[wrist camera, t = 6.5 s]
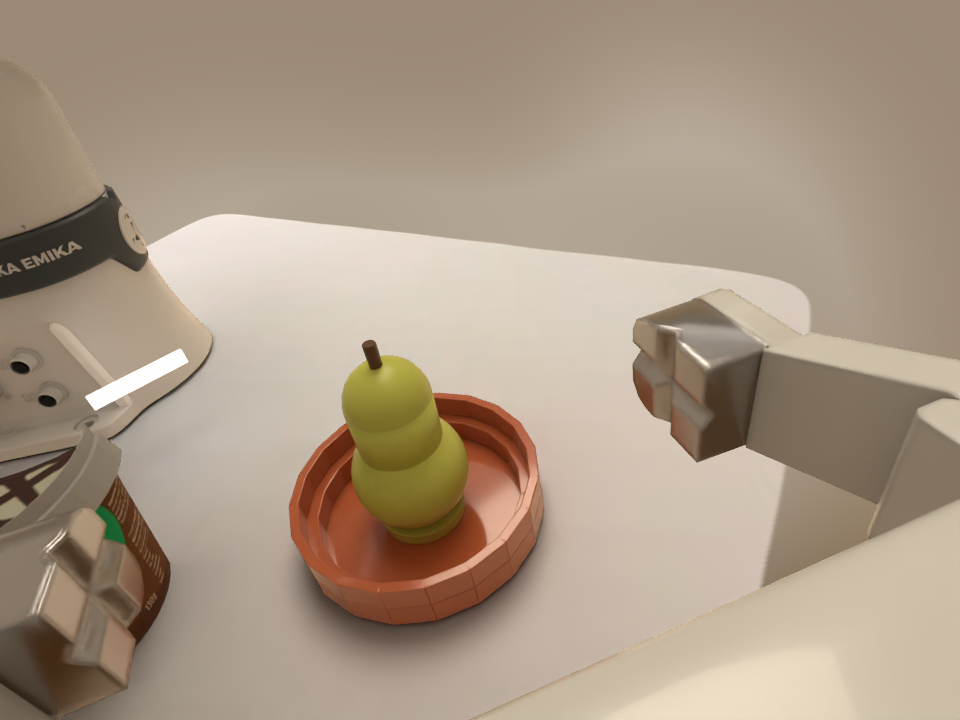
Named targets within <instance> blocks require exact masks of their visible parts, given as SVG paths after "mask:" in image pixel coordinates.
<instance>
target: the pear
mask: <svg viewBox="0 0 960 720" xmlns="http://www.w3.org/2000/svg"><path fill="white" fill-rule="evenodd" d="M362 348H363V351H364V353H365V356H366V359H367V361H365V362H363V363H362V364H360V365H359V366H358V367H357V368H356V369H354V370H353V372H352V373H351V374H350V376H349V377H348V379H347V381H346V383H345V385H344V389H343V393H342V410H343V414H344V417H345V420H346V422H347V425H348V427H349V430H350V432H351V435H352V437H353V439H354V442H355V444H356V448H355V451H354V455H353V459H352V466H351V476H352V484H353V487H354V490H355V493H356V495H357V497H358V499H359V501H360V503H361V504H362V505H363V507H364V508H365V509H366V510H367V511H368V513H370V514H371V515H372V516H373V517H374V518H376V519H377V520H379V521H380V522H382V523H384V525H385V527H386V529H387V531H388V532H389V533H390V535H392V536H393V537H394V538H395V539H397V540H399V541H401V542H404V543H408V544H425V543H429V542H433V541H435V540H438V539H440V538H442V537H443V536H445V535H446V534H448V533H449V532H450V531H452V530H453V529H454V528H455V526H456V525H457V524H458V523H459V521H460V520H461V518H462V516H463V513H464V509H465V497H464V490H465V488H466V484H467V480H468V473H469V463H468V456H467V452H466V449H465V446H464V443H463V442H462V440H461V438H460V436H459V435H458V433H457V432H456V431H455V430H454V429H453V427H452V426H451V425H449V424H448V423H447V422H446V421H444V420H443V419H441V418H440V417H439V415H438V411H437V407H436V404H435V400H434V396H433V393H432V389H431V386H430V383H429V381H428V379H427V377H426V376H425V374H424V373H423V372H422V370H421V369H420V368H418V367H417V366H416V365H415V364H413V363H412V362H410V361H408V360H406V359H404V358H401V357H398V356H388V355H386V356H380V354H379V351H378V348H377V345H376V342H375V341H374V340H367V341H365V342H364V343H363V344H362Z"/></svg>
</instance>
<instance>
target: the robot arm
mask: <svg viewBox="0 0 960 720" xmlns="http://www.w3.org/2000/svg"><path fill="white" fill-rule="evenodd" d="M633 342H634V343H635V344H636V345H637V346H638V347H639V348H640V349H641V351H640V353H639V354H638V356H637V358H636V359H635V361H634V363H633V381H634V384H635V387H636V390H637V393H638V396H639V398H640V399H641V401H642V403H643V404H644V406H645V407H646V409H647V410H648V411H649V412H650V413H651V414H652V415H653V416H654V417H656V418H659V419H662V420H665V421H668V422H671V434H670V435H671V436H672V437H673V438H674V439H675V440H676V441H677V442H678V443H679V444H680V445H681V446H682V447H683V448H684V449H685V451H686V452H687V453H688V454H689V455H690V456H691V457H692V458H693V459H694V460H695V461H696V462H699V461H702V460H705V459H708V458H710V457H713V456H716V455H719V454H721V453H724V452H727V451H729V450H732V449H735V448H738V447H740V446H743V445H746V448H749V449H751V450H753V451H755V452H758V453H760V454H762V455H765V456H767V457H769V458H772V459H774V460H776V461H779V462H781V463H783V464H785V465H788V466H790V467H792V468H795V469H797V470H799V471H802V472H804V473H806V474H809V475H811V476H813V477H816V478H818V479H820V480H822V481H825V482H827V483H829V484H832V485H834V486H836V487H838V488H841V489H843V490H845V491H848V492H850V493H852V494H855V495H857V496H859V497H862V498H864V499H866V500H869V501H871V502H873V503H875V504H878V505H877V508H876V510H875V513H874V515H873V518H872V520H871V523H870V525H869V528H868V539H869V540H867V541H865V542H863V543H861V544H859V545H856V546H854V547H852V548H850V549H847V550H845V551H843V552H841V553H839V554H836V555H834V556H832V557H830V558H827V559H825V560H823V561H821V562H819V563H816V564H814V565H812V566H810V567H808V568H805V569H803V570H801V571H799V572H797V573H794V574H792V575H790V576H788V577H785V578H783V579H781V580H779V581H777V582H774V583H772V584H770V585H768V586H765V587H763V588H761V589H759V590H756V591H754V592H752V593H750V594H748V595H745V596H743V597H741V598H739V599H736V600H734V601H732V602H730V603H728V604H725V605H723V606H721V607H719V608H716V609H714V610H712V611H710V612H708V613H705V614H703V615H701V616H699V617H696V618H694V619H692V620H690V621H688V622H685V623H683V624H681V625H679V626H676V627H674V628H672V629H670V630H668V631H665V632H663V633H661V634H659V635H656V636H654V637H652V638H650V639H648V640H645V641H643V642H641V643H639V644H636V645H634V646H632V647H630V648H628V649H625V650H623V651H621V652H619V653H616V654H614V655H612V656H610V657H608V658H605V659H603V660H601V661H599V662H596V663H594V664H592V665H590V666H588V667H585V668H583V669H581V670H579V671H576V672H574V673H572V674H570V675H568V676H565V677H563V678H561V679H559V680H556V681H554V682H552V683H550V684H548V685H545V686H543V687H541V688H539V689H536V690H534V691H532V692H530V693H528V694H525V695H523V696H521V697H519V698H517V699H514V700H512V701H510V702H508V703H505V704H503V705H501V706H499V707H497V708H494V709H492V710H490V711H488V712H485V713H483V714H481V715H479V716H477V717H474V718H472V719H470V720H960V360H955V359H949V358H944V357H939V356H934V355H929V354H923V353H918V352H913V351H907V350H902V349H896V348H891V347H886V346H881V345H875V344H870V343H865V342H860V341H854V340H849V339H844V338H838V337H833V336H828V335H822V334H817V333H812V332H811V333H808V334H805V335H801V334H799V333H798V332H796V331H795V330H793V329H792V328H790V327H788V326H787V325H785V324H784V323H782V322H780V321H779V320H777V319H776V318H774V317H772V316H771V315H769V314H768V313H766V312H765V311H763V310H761V309H760V308H758V307H757V306H755V305H753V304H752V303H750V302H749V301H747V300H746V299H744V298H742V297H741V296H739V295H738V294H736V293H734V292H733V291H731V290H727V289H718V290H716V291H713V292H710V293H707V294H705V295H702V296H699V297H697V298H694V299H693V300H691V301H688V302H685V303H682V304H679V305H677V306H674V307H671V308H668V309H665V310H662V311H659V312H656V313H653V314H650V315H648V316H645V317H642V318H639V319H636V322H635V325H634V327H633ZM211 345H212V335H211V332H210V331H209V329H208V328H207V327H205V326H204V325H203V324H202V323H201V322H200V321H199V320H198V319H197V318H196V317H195V316H194V315H193V314H192V313H191V312H190V311H189V310H188V309H187V308H186V306H185V305H184V304H183V303H182V302H181V301H180V299H179V298H178V297H177V296H176V295H175V293H174V292H173V291H172V290H171V288H170V287H169V286H168V284H167V283H166V282H165V280H164V279H163V278H162V276H161V275H160V274H159V272H158V271H157V269H156V268H155V267H154V265H153V264H152V262H151V261H150V259H149V258H148V251H147V249H146V245H145V242H144V240H143V238H142V236H141V234H140V232H139V230H138V228H137V226H136V225H135V223H134V221H133V219H132V218H131V216H130V214H129V212H128V211H127V209H126V208H125V207H124V206H123V205H122V203H121V202H120V200H119V198H118V197H117V195H116V194H115V192H114V190H113V189H112V188H111V187H109V186H107V185H104V184H103V183H102V181H101V179H100V178H99V176H98V174H97V172H96V171H95V169H94V167H93V165H92V164H91V162H90V160H89V158H88V156H87V155H86V153H85V151H84V149H83V148H82V146H81V144H80V142H79V140H78V139H77V137H76V135H75V134H74V132H73V130H72V128H71V126H70V125H69V123H68V121H67V119H66V118H65V116H64V114H63V113H62V111H61V109H60V107H59V105H58V104H57V102H56V100H55V98H54V96H53V95H52V93H51V92H50V90H49V89H48V88H47V87H46V86H45V85H44V84H43V83H42V82H41V81H40V80H39V79H38V78H37V77H36V76H35V75H33V74H32V73H31V72H29V71H28V70H26V69H25V68H23V67H21V66H20V65H18V64H16V63H14V62H12V61H10V60H8V59H5V58H3V57H0V462H2V461H6V460H11V459H16V458H21V457H26V456H30V455H35V454H40V453H45V452H49V451H54V450H59V449H64V448H68V447H73V446H77V445H78V442H79V440H80V437H81V433H82V428H83V425H86V426H87V428H88V429H89V430H90V431H91V432H92V433H93V434H96V433H98V432H99V433H101V434H102V435H103V436H104V437H106V438H107V439H108V438H110V437H112V436H114V435H116V434H117V433H118V432H120V431H121V430H122V429H124V428H125V427H126V426H127V425H128V424H129V423H130V422H131V421H132V420H133V419H134V418H135V417H136V416H137V415H138V414H139V413H140V412H141V411H142V410H143V409H145V408H146V407H147V406H148V405H150V404H151V403H153V402H154V401H156V400H157V399H159V398H160V397H162V396H164V395H165V394H167V393H168V392H170V391H171V390H172V389H174V388H175V387H177V386H178V385H179V384H181V383H182V382H183V381H184V380H185V379H187V378H188V377H189V376H190V375H191V374H192V373H193V372H194V371H195V370H196V369H197V368H198V367H199V366H200V364H201V363H202V362H203V361H204V359H205V358H206V356H207V355H208V353H209V351H210V348H211ZM106 525H107V524H106V523H105V522H104V521H103V520H102V519H101V518H100V517H99V516H98V515H97V514H96V513H95V512H94V511H93V510H92V509H87V508H78V509H75V510H72V511H68V512H65V513H62V514H59V515H56V516H53V517H50V518H46V519H43V520H40V521H37V522H34V523H31V524H28V525H24V526H21V527H18V528H15V529H12V530H9V531H6V532H2V533H0V720H54V719H56V718H59V717H61V716H64V715H66V714H68V713H71V712H73V711H75V710H78V709H80V708H82V707H85V706H87V705H89V704H92V703H94V702H96V701H99V700H101V699H103V698H106V697H108V696H111V695H113V694H115V693H118V692H120V691H122V690H125V689H127V686H128V681H129V676H130V670H131V665H132V659H133V654H134V648H135V643H136V639H135V638H134V637H133V636H132V634H131V633H130V632H129V631H128V630H127V628H128V626H129V625H130V624H131V622H132V621H133V620H134V618H135V617H136V616H137V614H138V613H139V612H140V610H141V609H142V602H143V595H144V585H143V578H142V571H141V568H140V566H139V564H138V562H137V560H136V558H135V556H134V554H133V553H132V552H131V551H130V550H129V548H128V547H127V546H126V545H125V544H123V543H119V542H116V541H112V540H109V539H105V538H104V535H105V530H106Z"/></svg>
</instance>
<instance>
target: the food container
mask: <svg viewBox="0 0 960 720" xmlns="http://www.w3.org/2000/svg"><path fill="white" fill-rule="evenodd" d="M120 462H121V450H120V449H119V448H118V447H117V446H115V445H114V444H113V443H112V442H111V441H109V440H108V439H107V438H106V437H104V436H103V435H102V434H101V433H99V432H98V433H96V434H93V433H92V432H91V431H90V430H89V429H88V428H87V426H86V425H83V428H82V433H81V437H80V440H79V442H78V445H77V447H76V448H74V449H71V450H69V451H68V452H66V453H64V454H62V455H60V456H58V457H56V458H54V459H52V460H49V461H47V462H44V463H42V464H39V465H37V466H34V467H32V468H30V469H27V470H25V471H22V472H20V473H17V474H13V475H10V476H7V477H3V478H0V533H2V532H6V531H9V530H12V529H15V528H18V527H21V526H24V525H28V524H31V523H34V522H37V521H40V520H43V519H46V518H50V517H53V516H56V515H59V514H62V513H65V512H68V511H72V510H75V509H78V508H87V509H92V510H93V511H94V512H95V513H96V514H97V515H98V516H99V517H100V518H101V519H102V520H103V521H104V522H105V523H106V524H107V525H106V530H105V535H104V538H105V539H109V540H112V541H116V542H119V543H123V544H125V545H126V546H127V547H128V548H129V550H130V551H131V552H132V553H133V554H134V556H135V558H136V560H137V562H138V564H139V566H140V568H141V571H142V578H143V585H144V595H143V602H142V609H141V610H140V612H139V613H138V614H137V616H136V617H135V618H134V620H133V621H132V622H131V624H130V625H129V626H128V628H127V630H128V631H129V632H130V633H131V634H132V636H133V637H134V638H135V639H136V643H135V646H136V645H137V644H138V642H139V641H140V640H141V638H142V637H143V636H144V634H145V633H146V632H147V630H148V629H149V628H150V626H151V624H152V623H153V621H154V619H155V618H156V616H157V614H158V612H159V610H160V608H161V606H162V604H163V602H164V600H165V596H166V593H167V590H168V587H169V581H170V562H169V561H168V559H167V557H166V556H165V554H164V552H163V551H162V549H161V547H160V546H159V544H158V542H157V540H156V539H155V537H154V535H153V534H152V532H151V530H150V529H149V527H148V525H147V524H146V522H145V520H144V519H143V517H142V515H141V514H140V512H139V510H138V509H137V507H136V505H135V504H134V502H133V500H132V499H131V497H130V495H129V494H128V492H127V490H126V488H125V487H124V485H123V483H122V482H121V480H120V478H119V477H118V475H117V472H118V468H119V465H120Z"/></svg>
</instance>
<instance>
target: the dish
mask: <svg viewBox="0 0 960 720" xmlns="http://www.w3.org/2000/svg"><path fill="white" fill-rule="evenodd" d="M433 396H434V400H435V404H436V407H437V411H438V415H439V417H440V418H441V419H443V420H444V421H446V422H447V423H448V424H449V425H451V426H452V427H453V429H454V430H455V431H456V432H457V433H458V435H459V436H460V438H461V440H462V442H463V443H464V446H465V449H466V452H467V456H468V463H469V473H468V480H467V484H466V488H465V490H464V497H465V509H464V513H463V516H462V518H461V520H460V521H459V523H458V524H457V525H456V526H455V528H454V529H453V530H452V531H450V532H449V533H448V534H446V535H445V536H443V537H442V538H440V539H438V540H435V541H433V542H429V543H425V544H408V543H404V542H401V541H399V540H397V539H395V538H394V537H393V536H392V535H390V533H389V532H388V531H387V529H386V527H385V525H384V523H382V522H380V521H379V520H377V519H376V518H374V517H373V516H372V515H371V514H370V513H368V511H367V510H366V509H365V508H364V507H363V505H362V504H361V503H360V501H359V499H358V497H357V495H356V493H355V490H354V487H353V484H352V476H351V466H352V459H353V455H354V451H355V448H356V444H355V442H354V439H353V437H352V435H351V432H350V430H349V427H348V425H347V423H346V424H344V425H343V426H341V427H340V428H339V429H338V430H337V431H336V432H335V433H333V434H332V435H331V436H330V437H329V438H328V439H327V440H326V441H324V442H323V443H322V444H321V445H320V446H319V447H318V448H317V449H316V451H315V452H314V454H313V455H312V456H311V458H310V459H309V461H308V462H307V464H306V465H305V467H304V468H303V469H302V471H301V472H300V474H299V476H298V479H297V482H296V485H295V488H294V491H293V494H292V498H291V501H290V504H289V514H290V527H291V537H292V539H293V541H294V543H295V545H296V546H297V548H298V550H299V551H300V553H301V555H302V557H303V558H304V560H305V562H306V564H307V565H308V567H309V569H310V570H311V572H312V574H313V575H314V577H315V579H316V580H317V582H318V584H319V586H320V587H321V589H322V591H323V592H324V594H325V595H326V596H327V597H328V598H330V599H331V600H333V601H334V602H335V603H337V604H338V605H340V606H341V607H342V608H344V609H345V610H347V611H348V612H350V613H351V614H352V615H355V616H358V617H362V618H366V619H370V620H375V621H379V622H383V623H387V624H392V625H393V624H394V625H400V624H410V623H420V622H430V621H437V620H440V619H443V618H445V617H447V616H450V615H452V614H455V613H457V612H459V611H462V610H464V609H467V608H469V607H472V606H474V605H476V604H478V603H481V602H482V601H483V600H484V599H486V598H487V597H488V596H489V595H491V594H492V593H493V592H494V591H495V590H497V589H498V588H499V587H500V586H502V585H503V584H504V583H505V582H507V581H508V580H509V579H510V578H512V577H513V575H514V574H515V573H516V571H517V570H518V568H519V567H520V565H521V564H522V562H523V561H524V559H525V558H526V556H527V555H528V553H529V552H530V550H531V549H532V547H533V546H534V544H535V542H536V539H537V535H538V531H539V527H540V523H541V519H542V515H543V511H544V510H543V509H544V507H543V500H542V492H541V485H540V477H539V470H538V463H537V456H536V448H535V445H534V444H533V442H532V441H531V439H530V437H529V436H528V434H527V432H526V431H525V429H524V428H523V426H522V424H521V423H520V422H519V421H518V420H516V419H515V418H514V417H512V416H511V415H510V414H508V413H507V412H506V411H504V410H503V409H502V408H500V407H499V406H497V405H495V404H492V403H490V402H487V401H484V400H481V399H478V398H475V397H472V396H469V395H458V394H446V393H433Z"/></svg>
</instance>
